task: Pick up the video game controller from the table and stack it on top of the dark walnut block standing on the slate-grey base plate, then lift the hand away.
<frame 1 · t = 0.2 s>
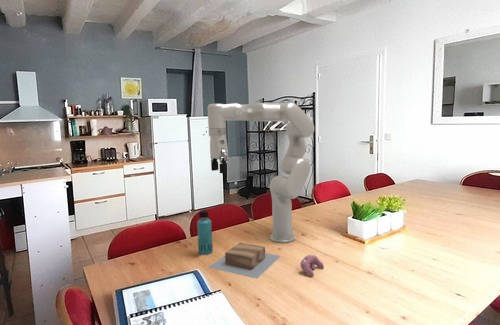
hand: (219, 171, 143), 37 cm above the table, tool pointing down, fingers open, 9 cm apart
beverage bottle: (205, 255, 144), on the table
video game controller: (311, 271, 126), on the table
base plate: (245, 264, 133), on the table
walnut block: (245, 261, 133), point 1 cm above the table, touching base plate
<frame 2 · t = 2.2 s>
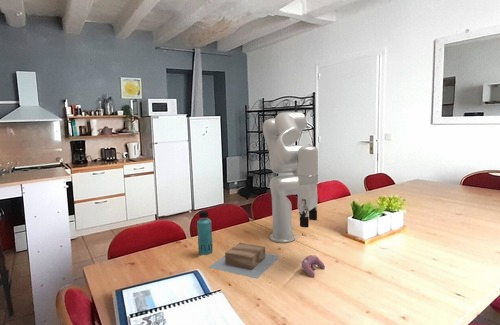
hand: (308, 223, 124), 19 cm above the table, tool pointing down, fingers open, 9 cm apart
nothing on the table moved.
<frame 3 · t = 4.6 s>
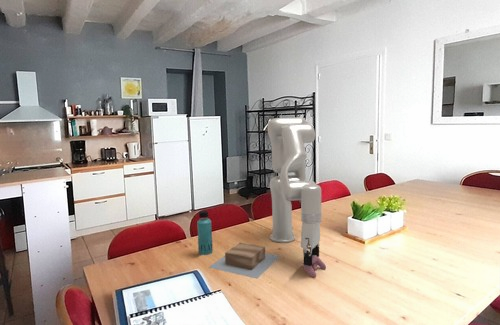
hand: (311, 260, 126), 4 cm above the table, tool pointing down, fingers closed on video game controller, 8 cm apart
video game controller: (314, 272, 126), on the table, touching gripper
everything else where it was.
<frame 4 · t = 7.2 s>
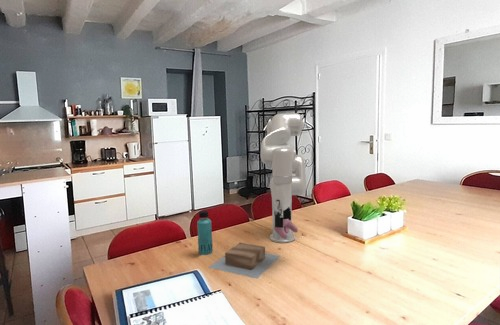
hand: (283, 223, 127), 18 cm above the table, tool pointing down, fingers closed on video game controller, 8 cm apart
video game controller: (285, 235, 127), point 14 cm above the table, touching gripper
everything else where it was.
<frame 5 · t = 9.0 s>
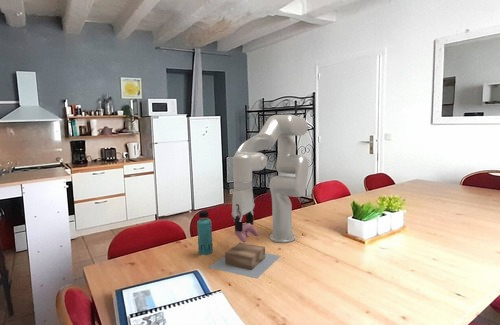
hand: (244, 227, 131), 16 cm above the table, tool pointing down, fingers closed on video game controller, 8 cm apart
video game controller: (246, 238, 131), point 11 cm above the table, touching gripper
everything else where it was.
when the fingers open (12 cm above the table, at t = 10.3 s): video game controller stays where it is, resting on walnut block.
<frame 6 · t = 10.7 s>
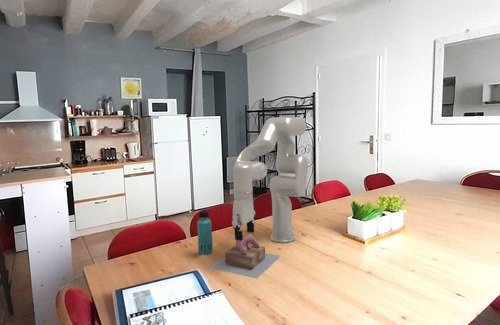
hand: (244, 236, 132), 12 cm above the table, tool pointing down, fingers open, 9 cm apart
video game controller: (247, 250, 132), point 6 cm above the table, touching walnut block
walnut block: (245, 261, 133), point 1 cm above the table, touching base plate, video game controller
everything else where it was.
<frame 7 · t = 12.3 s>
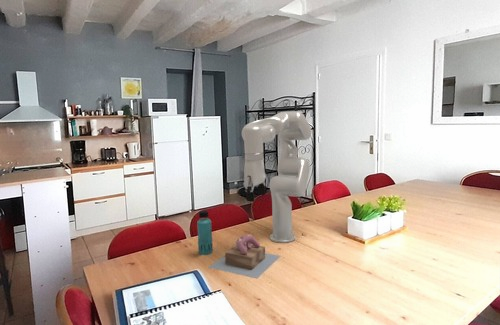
hand: (256, 197, 134), 27 cm above the table, tool pointing down, fingers open, 9 cm apart
nothing on the table moved.
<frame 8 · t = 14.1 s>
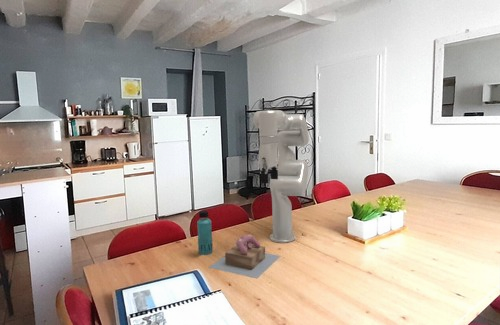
hand: (269, 181, 137), 33 cm above the table, tool pointing down, fingers open, 9 cm apart
nothing on the table moved.
at the end: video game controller 1.2 cm from the walnut block (horizontally); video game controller point 6.3 cm above the table; the gripper is holding nothing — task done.
